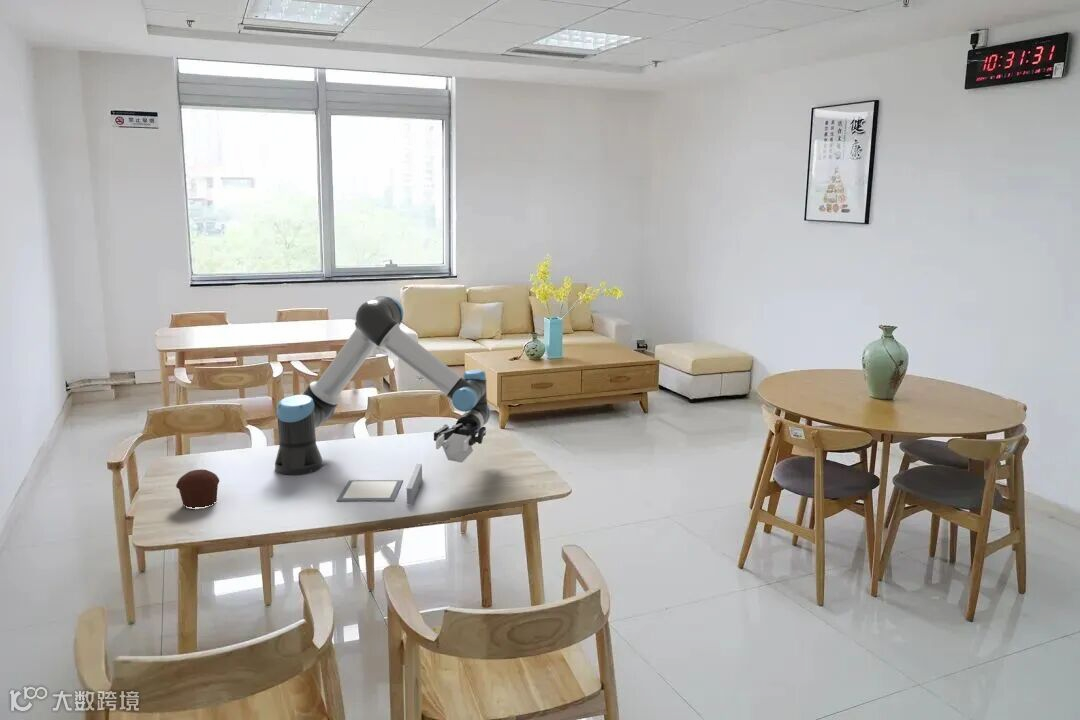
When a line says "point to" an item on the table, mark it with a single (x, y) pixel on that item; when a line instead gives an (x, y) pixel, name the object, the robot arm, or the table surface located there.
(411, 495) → the low wall
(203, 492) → the muffin
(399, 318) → the robot arm
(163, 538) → the table surface
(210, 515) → the table surface
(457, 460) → the die
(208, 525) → the table surface
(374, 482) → the mat
